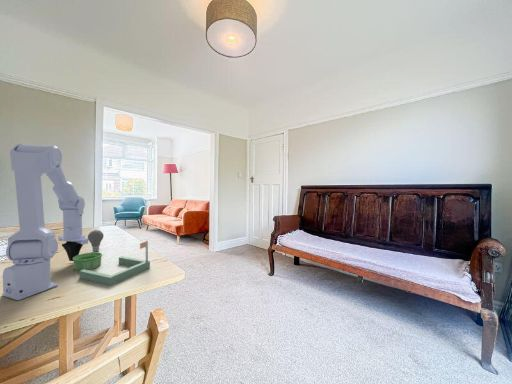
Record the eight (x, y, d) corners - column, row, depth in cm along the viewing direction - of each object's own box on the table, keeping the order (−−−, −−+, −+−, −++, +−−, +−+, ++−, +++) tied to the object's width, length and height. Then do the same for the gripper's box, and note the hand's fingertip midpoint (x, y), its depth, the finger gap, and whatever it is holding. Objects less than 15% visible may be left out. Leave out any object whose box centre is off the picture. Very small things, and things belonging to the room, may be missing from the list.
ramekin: (74, 265, 86) (74, 254, 86) (102, 261, 91) (102, 250, 91) (71, 273, 78) (70, 261, 78) (101, 268, 83) (101, 257, 83)
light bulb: (95, 253, 99) (95, 231, 99) (84, 252, 101) (84, 231, 100) (106, 249, 105) (106, 229, 105) (96, 248, 106) (96, 228, 106)
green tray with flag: (110, 285, 70) (109, 252, 69) (79, 278, 74) (78, 247, 74) (149, 267, 85) (149, 240, 84) (122, 262, 89) (121, 236, 89)
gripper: (96, 226, 88) (96, 259, 89) (71, 223, 93) (72, 254, 93) (76, 229, 81) (77, 265, 82) (51, 226, 86) (52, 260, 87)
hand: (73, 260), depth 87 cm, fingers closed
